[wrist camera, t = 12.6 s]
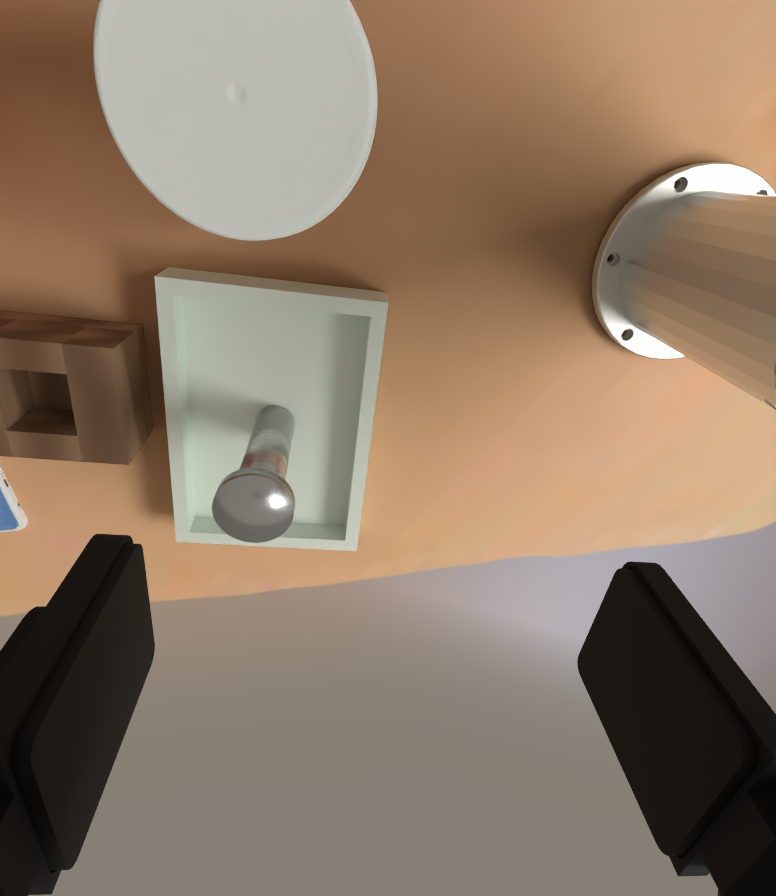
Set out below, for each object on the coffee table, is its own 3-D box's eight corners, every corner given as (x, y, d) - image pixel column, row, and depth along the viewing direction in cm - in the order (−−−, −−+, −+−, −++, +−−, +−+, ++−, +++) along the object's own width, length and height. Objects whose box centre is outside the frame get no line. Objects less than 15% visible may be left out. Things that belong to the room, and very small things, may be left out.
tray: (169, 266, 33) (154, 276, 31) (385, 291, 35) (388, 302, 33) (186, 518, 43) (176, 541, 40) (355, 528, 45) (356, 551, 42)
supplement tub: (354, 2, 28) (364, -130, 15) (379, 197, 32) (402, 225, 20) (174, 28, 28) (29, -80, 15) (224, 220, 32) (147, 263, 20)
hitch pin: (307, 397, 37) (295, 480, 28) (304, 450, 40) (291, 544, 30) (245, 392, 37) (210, 474, 27) (245, 446, 39) (213, 540, 29)
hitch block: (142, 324, 35) (113, 348, 31) (152, 430, 39) (128, 464, 35) (-20, 308, 34) (-73, 330, 29) (7, 419, 38) (-37, 453, 33)
